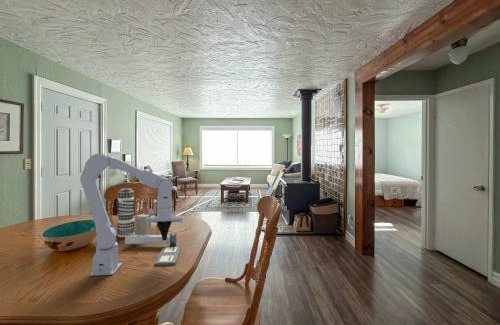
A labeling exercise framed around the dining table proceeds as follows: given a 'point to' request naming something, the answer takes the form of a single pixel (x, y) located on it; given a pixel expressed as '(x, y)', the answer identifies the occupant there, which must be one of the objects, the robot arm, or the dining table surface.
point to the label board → (168, 256)
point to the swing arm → (146, 239)
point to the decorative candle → (125, 212)
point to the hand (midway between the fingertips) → (164, 239)
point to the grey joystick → (173, 241)
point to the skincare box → (143, 225)
